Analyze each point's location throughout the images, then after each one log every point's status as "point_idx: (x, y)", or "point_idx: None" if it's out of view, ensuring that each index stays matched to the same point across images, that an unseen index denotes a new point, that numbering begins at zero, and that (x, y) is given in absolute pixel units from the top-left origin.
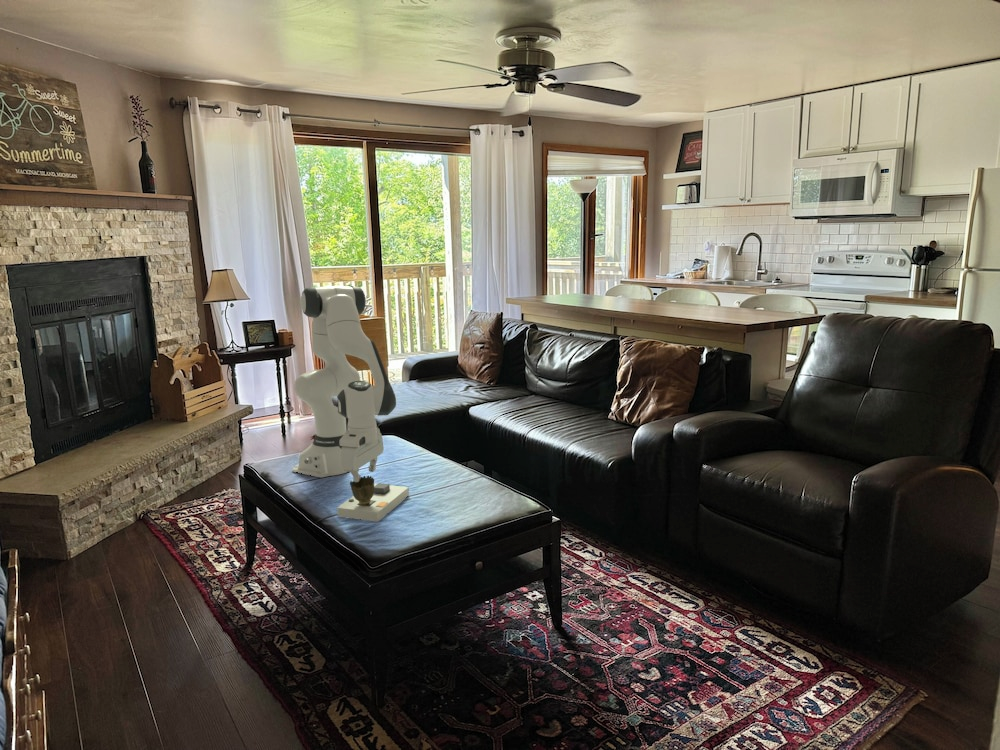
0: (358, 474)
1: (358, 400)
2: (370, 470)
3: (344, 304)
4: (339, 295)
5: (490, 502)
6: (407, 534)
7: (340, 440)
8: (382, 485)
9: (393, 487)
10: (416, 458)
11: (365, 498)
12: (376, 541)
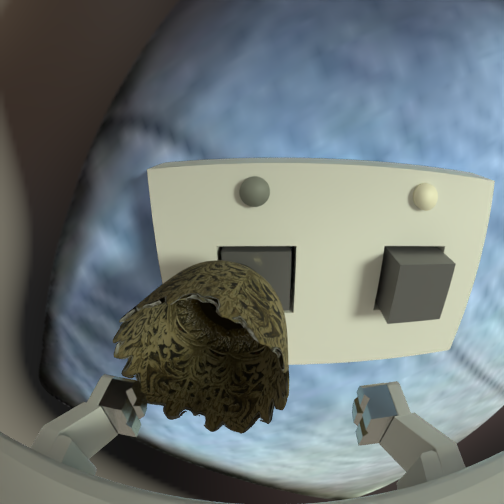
0: (99, 445)
1: None
2: (357, 401)
3: None
4: None
5: (378, 466)
6: (160, 415)
7: None
8: (426, 297)
9: (453, 302)
10: None
11: (184, 340)
12: (91, 369)
